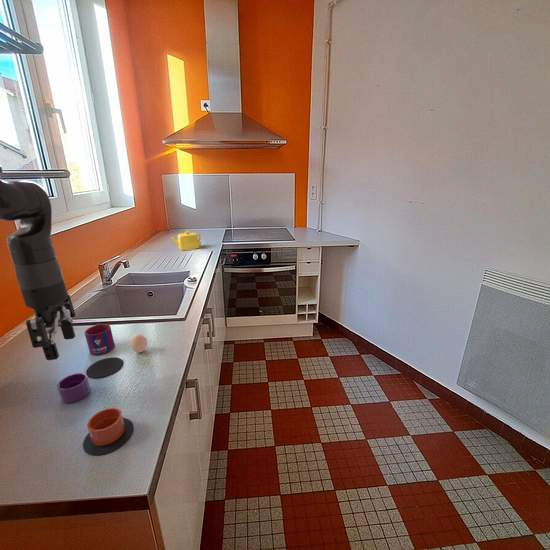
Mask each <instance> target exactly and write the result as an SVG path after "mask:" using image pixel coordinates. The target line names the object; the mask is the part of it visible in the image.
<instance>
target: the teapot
mask: <svg viewBox="0 0 550 550" xmlns="http://www.w3.org/2000/svg"><path fill="white" fill-rule="evenodd" d="M201 239H202V236H201V234H199V233H195V232H190V231H189V230H187V231H184V233H178V234H177V239H176V238H175V237H174V236H172V237H171V240H172V242H174V244H175V245H177V247H178V250H179V251H181V250H186V251H189V250H188V249H194V250H198V249H197V248H199V249H200V246H201V245H202V242H201Z"/></svg>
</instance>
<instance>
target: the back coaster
mask: <svg viewBox="0 0 550 550" xmlns="http://www.w3.org/2000/svg"><path fill="white" fill-rule="evenodd" d="M123 365H124V361H123V359H122V358H120V357H117V356H116V357H115V356H112V357H106V358H102V359H100V360H96V361H95V362H93V363H92V364H90V365H89V366H88V367H87V369H86V370H85V374H86V375H87V378H91V379H102V378H103V379H104V378H106V377H109V376H111V375H113V374H115V373H117V372H119V370H121V369H122V367H123Z"/></svg>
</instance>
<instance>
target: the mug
mask: <svg viewBox="0 0 550 550" xmlns="http://www.w3.org/2000/svg"><path fill="white" fill-rule="evenodd" d="M84 335H85V340H86V344H87V348H88V351H89V354H90V355H92V356H101V355H105V354H108V353H111V351H113V350H114V349H115V347H116V345H115V341H114V337H113V332H112V328H111V325H110V324H108V323H100V322H99V323H96V325H95V324H94V325H92V326H90V327H88V328H87V329H85V330H84Z"/></svg>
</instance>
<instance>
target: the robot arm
mask: <svg viewBox="0 0 550 550" xmlns="http://www.w3.org/2000/svg"><path fill="white" fill-rule="evenodd" d="M2 177H3V167H2V165H0V221H3V222H14V221H19V223H18V229H17V230H16V231H14V232H12V233H11V234H9V235H8V236H7V237H6V245H7V248H8V249H7V250H8V251H9V255H10V257H11V260H12V264H13V268H14V274H15V275H14V276H15V278H16V281H17V285H18V287H19V291H20V293H21V296H22V299H23V302H24V305H25V306H26V308H29V309H32V310H34V315H35V316H34V318H32V319H26V321H25V325H26V328H27V332H28V335H29V339H30V343H31V346H32V348H33V349H38V348H42V351H43V355H44V357H45V359H46V360H47V361H54V360H58V359H59V357H60V353H59V351H58V347H57V344H56V342H55V337H56V334H57V333H58V331H59V325H60V329H61V333H62V336H63V339H64V340H74V339H75V337H76V333H75V330H74V329H75V328H74V326H73V322H74V319H73V318H75V317H76V311H75V308H74V305H73V302H72V298H71V296H70V294H69V293H68V290H67V286H66V281H65V279H64V274H63V270H62V268H61V265H60V263H59V260H58V258H57V254H56V252H55V248H54V245H53V241H52V225H53V224H52V222H53V221H52V215H53V214H52V211H53V209H52V202H51V199H50V196H49V194H48V193H47V192H46V190H45V189H44V188H43V187H42V186H41V185H40V184H38V183H37V182H34V181H31V180H12V181H4V180H3V179H1V178H2Z"/></svg>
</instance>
